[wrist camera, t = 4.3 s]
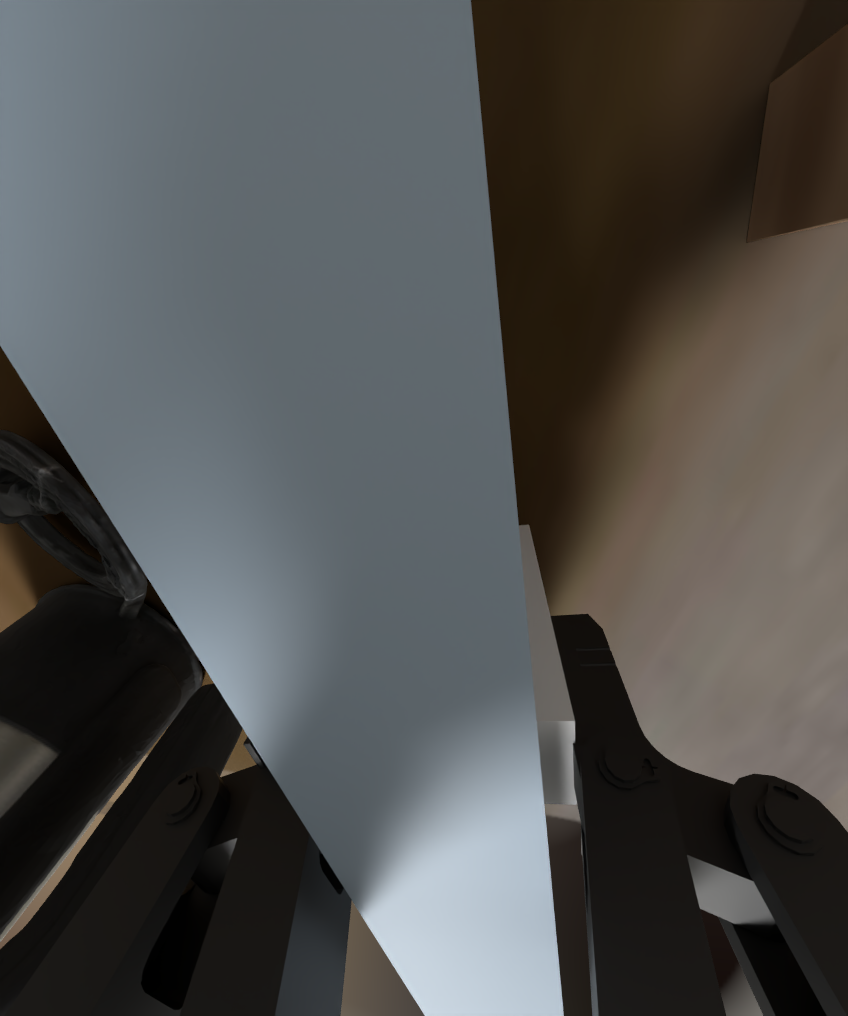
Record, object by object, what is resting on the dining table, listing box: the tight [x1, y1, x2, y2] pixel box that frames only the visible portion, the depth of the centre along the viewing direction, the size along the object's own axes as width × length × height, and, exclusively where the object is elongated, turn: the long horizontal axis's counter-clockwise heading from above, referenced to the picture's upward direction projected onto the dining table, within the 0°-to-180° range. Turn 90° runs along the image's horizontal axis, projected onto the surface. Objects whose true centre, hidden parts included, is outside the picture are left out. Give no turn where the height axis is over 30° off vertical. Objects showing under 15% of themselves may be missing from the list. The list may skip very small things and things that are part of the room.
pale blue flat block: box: [0, 0, 563, 1016], centre depth 9 cm, size 18×3×9 cm, turn 11°
